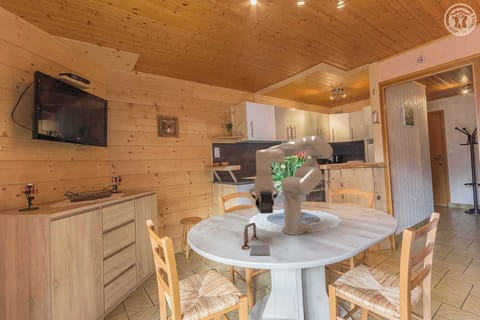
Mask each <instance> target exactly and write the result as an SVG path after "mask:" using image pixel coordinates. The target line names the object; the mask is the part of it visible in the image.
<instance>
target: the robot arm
mask: <svg viewBox="0 0 480 320" xmlns="http://www.w3.org/2000/svg"><path fill="white" fill-rule="evenodd" d="M304 152H305V161H304V163H303V164H302V165H300V166H299V167H298V168H297V169H296V170H295V172H294V173H293V175H294V176H287V177H285V178H283V179H282V181H281V189H282V195H283V205H284V206H283V208H284V210H283V211H284V226H283V227H282V232H283V233H284V234H286V235H290V236H291V235H292V236H293V235H294V236H295V235H296V236H297V235H302V234H304V233H305V232H306V231H305V229H311V225H310V224H308V223H307V224H305V223H303V221H302V201H301V197H300V196H306V195H308V194H310V193H311V192H312V191H313V190H314V189H315V188H316V187H317V186H318V185H319V183H320V182H321V180H322V176H323V175H322V174H323V173H322V171H321V169H320V168H319V165H318V162H317V159H330V158H331V157H332V156H333V153H334V151H333V147H332V146H331V144H329V143H328V142H326V140H324V139H323V138H321V137H320V136H318V135H305V136H301V137H299V138H295V139H293V140H290V141H288V142H287V141H286V142H285V143H281V144H278V145H274V146H271V147H269V148H267V149H257V150H256V151H255V167H256V169H255V170H256V171H255V172H256V173H255V174H256V175H255V176H254V181H253V182H254V183H253V185H254V187H253V188H252V189H251V190H249V192H248V194H249V195H250V197H252V198H253V200H254V201H255V206H256V208H257V209H258V196H259V193H260V192H272V204H273V206H275V201H274V200H275V199H276V198H277V196H278V195H280V193H281V192H280V190H278V189H277V188H276V187H274V186H275V185H274V177H273V175H272V174H275V173H274V170H272V169H271V167H272V166H271V165H272V164H280V163H283V161H284V160H285V158H289V157H294V156H297V155H299V154H301V153H304ZM253 192H254V194H253Z"/></svg>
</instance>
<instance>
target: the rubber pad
mask: <svg viewBox="0 0 480 320" xmlns="http://www.w3.org/2000/svg"><path fill="white" fill-rule="evenodd" d="M249 256H251V257H252V256H254V257H255V256H258V257H259V256H262V257H264V256H265V257H267V256H269V257H270V256H271V247H270V244H251V245H250V253H249Z"/></svg>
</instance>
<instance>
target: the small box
mask: <svg viewBox="0 0 480 320" xmlns="http://www.w3.org/2000/svg"><path fill="white" fill-rule="evenodd" d="M272 195H273V194H272V192H260V193H259V196H258V208H257V210H258V211H259V212H260V214H263V215H265V214H274V209H273V208H274V205H273V204H272Z"/></svg>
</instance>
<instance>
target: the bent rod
mask: <svg viewBox="0 0 480 320" xmlns="http://www.w3.org/2000/svg"><path fill="white" fill-rule="evenodd" d="M251 226H252V228H253V234H252V235H253V236H251V237H250V239H251V240H253V241H257V240H259V238H260V237H259V236H258V235H257V228H256V226H257V224H256V223H255V222H252V223H249V224H246V225H245V226H244V230H243V243H244V245H242V246H241V249H242V250H247V251H248V250H251V245H249V244H248V243H249V230H248V228H249V227H251Z"/></svg>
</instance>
